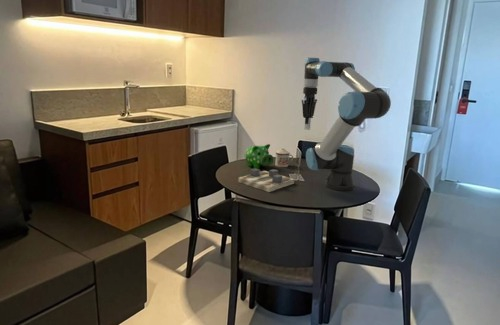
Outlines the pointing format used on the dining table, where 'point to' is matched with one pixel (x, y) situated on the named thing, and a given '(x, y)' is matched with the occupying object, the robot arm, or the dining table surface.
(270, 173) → the middle tab
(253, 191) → the dining table surface
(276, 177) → the near tab
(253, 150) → the piggy bank
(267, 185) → the switch board
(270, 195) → the dining table surface
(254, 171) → the far tab
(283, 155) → the teacup with lid
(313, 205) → the dining table surface
